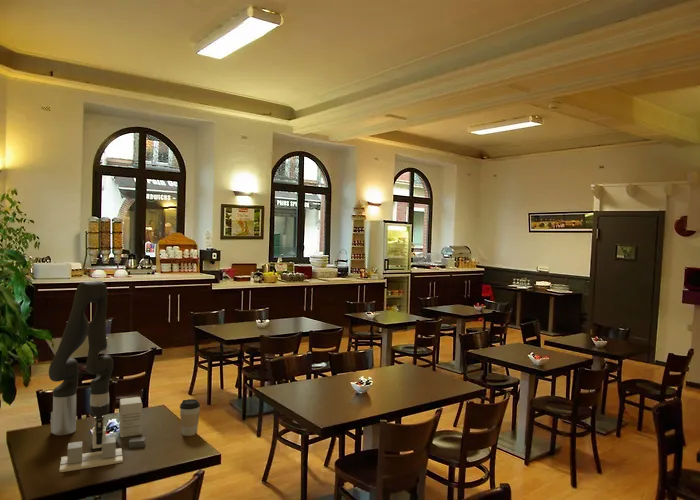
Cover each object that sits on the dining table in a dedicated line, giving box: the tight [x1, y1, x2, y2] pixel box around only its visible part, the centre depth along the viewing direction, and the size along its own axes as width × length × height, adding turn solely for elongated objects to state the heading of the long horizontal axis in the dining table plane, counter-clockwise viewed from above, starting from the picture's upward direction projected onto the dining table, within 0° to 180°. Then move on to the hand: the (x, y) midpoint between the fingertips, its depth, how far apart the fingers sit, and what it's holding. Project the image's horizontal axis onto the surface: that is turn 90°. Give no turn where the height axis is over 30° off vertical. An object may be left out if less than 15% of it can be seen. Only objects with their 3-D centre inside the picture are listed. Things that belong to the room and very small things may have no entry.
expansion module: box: [92, 425, 107, 449], centre depth 218 cm, size 5×6×7 cm
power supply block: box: [128, 436, 146, 449], centre depth 219 cm, size 6×4×3 cm, turn 105°
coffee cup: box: [179, 398, 201, 437], centre depth 234 cm, size 9×9×15 cm
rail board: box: [59, 436, 124, 473], centre depth 203 cm, size 22×12×7 cm, turn 116°
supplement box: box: [119, 396, 143, 438], centre depth 232 cm, size 9×9×15 cm
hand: (99, 441), depth 218 cm, fingers closed on expansion module, 6 cm apart
